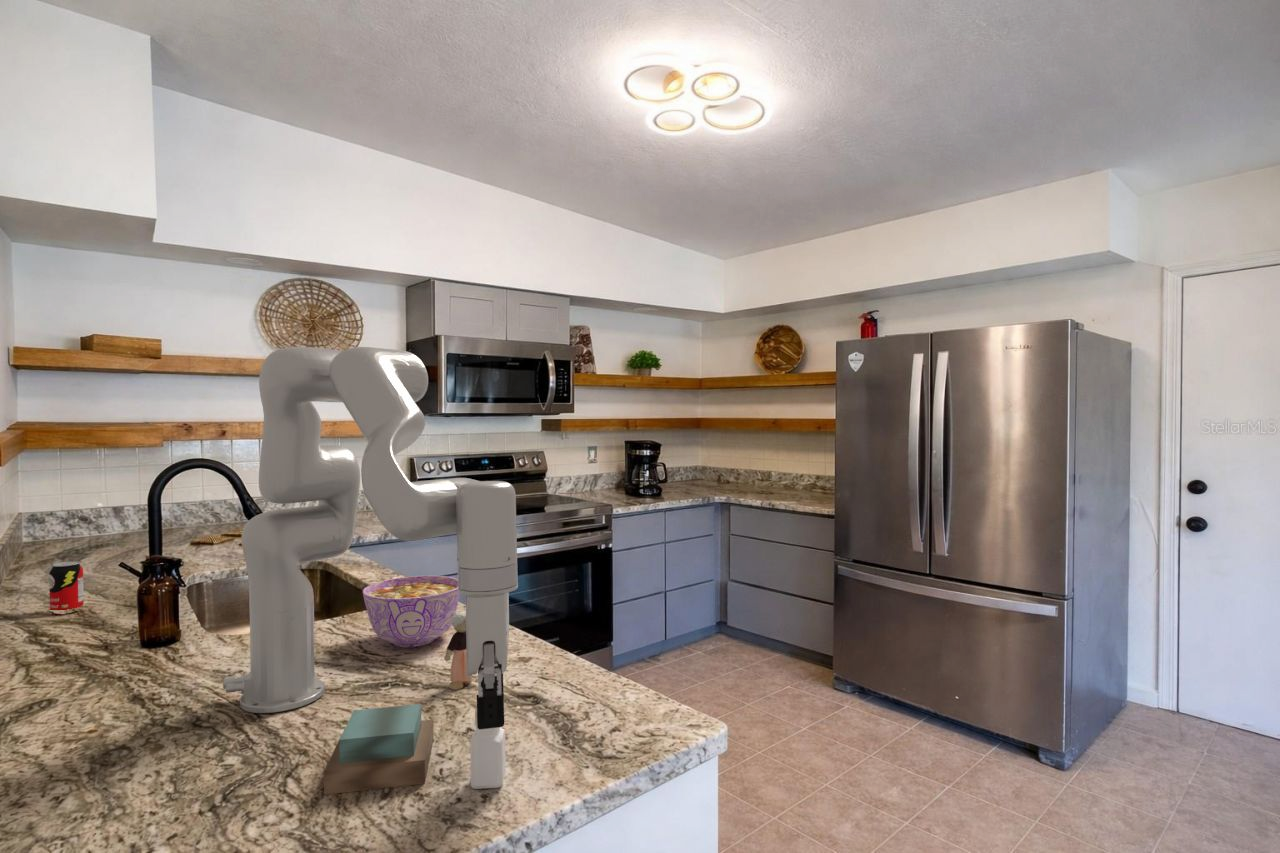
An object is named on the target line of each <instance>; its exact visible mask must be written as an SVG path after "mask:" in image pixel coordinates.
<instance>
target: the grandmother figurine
mask: <svg viewBox="0 0 1280 853" xmlns="http://www.w3.org/2000/svg"><path fill="white" fill-rule="evenodd" d="M451 623H452V625H451V627H453V629H454V630H455V633H453V634H452V637H451V639H450V640H449V642H448V645H447V647H446V651H445V656H444V659H443V660H444V661H445V662H449V661H450V660H451V665H450V683H449V684H448V688H450V689H452V690H461V689H462V688H464V685H468V684H471V683H472V679H473V676H472V677H470V676H468V675H467V651H466V611H465V612H463V611H459V612H456V614H455V615H454V616H453V617H452V620H451ZM452 654H453V656H452ZM451 656H452V659H451Z"/></svg>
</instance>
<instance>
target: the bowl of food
mask: <svg viewBox="0 0 1280 853" xmlns="http://www.w3.org/2000/svg"><path fill="white" fill-rule="evenodd" d="M362 595H363V600H364V605H365V608H366V612H367V615H368V618H369V622H370V625H371V627H372V628H371V629H372V630H373V632H374V633H375V634H376V635H377V637H378V638H379V639H381V640H383V641H386V642H387V643H389V644H393V645H394V646H396V647H398V646H400V648H416V646H418V647H422V646H426V645H429V644H431V643H433V641H435V639H438V638H440V637H441V636H443V635H444V634H446V633H447V631H449V629H450V628H451V627H452V623H451V620H452V617H453V616H454V615H455V614H457V609H458V606H459V601H460V596H461V594H460V593H459V592H458V578H456V577H452V576H451V577H450V576H445V575H444V576H443V575H413V576H411V575H410V576H403V577H396V578H390V579H386V580H380V581H377V582H374V583H372V584H370V585H368V586H366V587H364V589H363V590H362Z"/></svg>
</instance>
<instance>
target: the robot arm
mask: <svg viewBox="0 0 1280 853" xmlns="http://www.w3.org/2000/svg"><path fill="white" fill-rule="evenodd" d="M258 379H259V380H258V387H259V394H260V395H259V396H260V401H261V405H262V412H263V427H262V437H261V438H262V439H261V449H260V460H259V467H258V468H259V469H258V488H259V493H260V495H261V497H262V498H263V500H265V501H267V502H270V503H272V504H280V505H281V504H283V505H284V504H298V503H299V504H300V503H307V502H318V504H317V505H312V506H311V505H310V506H304V507H303V506H302V507H291V508H290V507H289V508H282V509H281V508H280V509H275V510H270V511H265V512H262V513H259V514H257V515H255V516H253V517H251V519H249V520H248V521H247V522H246V523H245V525H244V526H243V529H242V531H241V546H242V552H243V556H244V562H245V566H246V570H247V572H246V574H247V579H248V594H249V595H248V596H249V597H248V598H249V599H248V600H249V601H248V603H249V608H248V609H249V645H250V646H249V647H250V648H249V653H250V654H249V659H250V660H249V661H250V662H249V664H250V673H246V674H245V675H242V676H238V675H234V676H233V675H232V676H225V677H224V679H223V682H222V686H223V687H222V688H223V689H224V690H225V693H226V694H227V693H228V694H229V693H237V692H241V693H242V695H241V696H240V697H239V707H240V708H241V709H242V710H243V711H246V712H247V713H248V712H249V713H252V714H253V713H254V714H273V713H281V712H285V711H290V710H294V709H298V708H301V707H303V706H307V705H309V704H311V703H313V702H315V701H317V700H318V699H319V698H321V697H322V696H323V695H324V694H325V687H326V685H325V682H323V681H322V680H321V679H319V678H316V677H315V675H316V674H315V673H316V672H315V602H314V601H315V600H314V598H315V597H314V596H315V595H314V589H313V586H312V583H311V582H310V580H309V578H308V577H307V576H306V575H305V574H304V573H303V572H302V570H301V568H300V565H304V564H306V563H313V562H316V561H322V560H327V559H333V558H336V557H339V556H341V555H343V554H345V553H346V552H347V551H348V550H349V548H350V546H351V544H352V543H353V539H354V536H355V535H354V534H355V528H356V521H357V520H356V519H357V513H358V512H357V511H358V506H359V505H358V504H359V503H358V502H359V495H360V494H359V493H360V488H361V487H360V486H361V485H362V491H363V493H364V496H365V498H366V500H367V502H368V504H369V505H370V507H371V509H372V510H373V512H374V514H375V516H376V517H377V519H378V520H379V522H380V523H381V525H382V526H383V528H384V529H385V530H386V531H387V532H388V533H389V534H390V535H391V536H393V537H394V538H396V539H398V540H400V541H403V542H415V541H422V540H426V539H431V538H436V537H437V538H438V537H441V536H443V537H444V536H451V535H456V552H457V553H456V556H457V560H456V561H457V579H458V592H459V593H460V595H464V596H466V598H465V600H466V603H465V613H466V651H467V675H468V676H470V677H472V678H473V675H477V678H478V680H477V681H478V682H477V684H478V686H477V687H478V688H477V690H478V691H477V692H478V693H477V695H476V708H477V727H478V729H489V728H498V727H500V728H503V727H504V726H505V701H504V700H505V699H504V697H505V695H504V693H505V692H504V673H505V672H507V666H508V652H509V642H510V641H509V639H510V636H509V635H510V634H509V633H510V608H509V607H510V605H509V604H510V603H509V602H510V600H509V599H510V598H509V597H510V594H509V593H511V592H513V591H516V590H517V589H519V582H518V580H519V578H518V545H517V544H518V541H517V538H518V536H517V499H516V497H517V496H516V495H517V494H516V490H515V488H514V486H513V485H512V484H511V483H509V482H507V481H503V480H501V481H500V480H485V481H483V480H482V481H481V480H476V479H472V478H467V477H452V478H440V479H430V480H419V481H410V480H409V478H408V477H407V476H406V475H405V473H404V472H403V470H402V469H401V467H400V465H399V464H398V462H397V460H396V458H395V456H396V455H398V454H399V453H400V452H402V451H404V450H405V449H408V448H409V447H410V446H411V445H412V444H414V442H416V441H417V440H418V439H419V437H421V435H422V434H423V432H424V430H425V427H426V419H425V417H426V416H424V413H423V412H422V410H421V409H420V407H419V406H418V405H417V402H419V401H421V399H422V398H424V397H425V394H427V391H428V387H429V374H428V371H427V368H426V366H425V364H424V362H423V361H422V360H421V359H420V358H419V357H418V356H417V355H415V354H414V353H412V352H410V351H407V350H400V349H393V348H392V349H390V348H382V347H370V346H356V347H355V346H354V347H350V348H346V349H345V350H339V349H332V348H330V349H329V348H322V347H312V346H311V347H310V346H289V347H282V348H278V349H275V350H274V351H272V352H270V354H268V355H267V357H266V358H265V359H264V361H263V363H262V365H261V366H260V371H259V376H258ZM313 402H320V403H321V402H323V403H324V402H325V403H326V402H327V403H343V404H344V406H345V408H346V410H347V411H348V413H349V415H350V416H351V417H352V419H353V420H354V423H355V424H356V426H357V427H358V429H359V431H360V432H361V434H362V436H363V437H364V438H365V441H367V445H366V447H365V449H364V451H363V454H362V455H363V456H362V459H361V464H360V465H359V462H358V459H357V457H356V455H355V454H354V453H353V451H352V450H351V449H350V448H348V447H346V446H344V445H340V444H322V445H321V437H322V436H321V434H322V420H321V416H320V414H319V412H318V411H317V408H316V407H315V405H314V404H313ZM360 466H361V467H360Z"/></svg>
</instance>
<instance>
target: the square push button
mask: <svg viewBox="0 0 1280 853" xmlns="http://www.w3.org/2000/svg"><path fill="white" fill-rule="evenodd" d="M433 744H434V719H426V720H425V719H423V720H422V704H421V703H419V704H418V703H417V704H408V705H398V706H397V705H396V706H385V707H375V708H363V709H354V710H353V711H352V713H351V715H350V716H349V720H348V721H347V724H346V726H345V727H344V729H343V731H342V733H341V735H340V738H339V739H338V741H337V744H336V745H335V747H334V750H333V752H332V754H331V756H330V758H329V759H328V762H327V763H326V766H325V767H324V770H323V784H324V785H323V793H324V794H323V795H333V794H341V793H351V792H360V791H366V790H367V791H369V790H376V789H386V788H395V787H404V786H414V785H422V784H425V783H426V781H427V780H426V779H427V775H428V770H429V764H430V760H431V754H432V749H433Z"/></svg>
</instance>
